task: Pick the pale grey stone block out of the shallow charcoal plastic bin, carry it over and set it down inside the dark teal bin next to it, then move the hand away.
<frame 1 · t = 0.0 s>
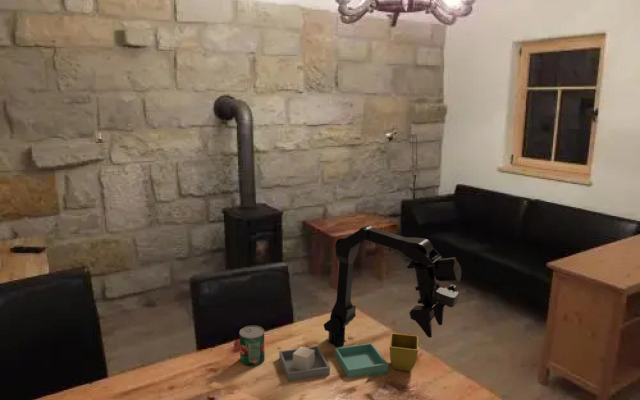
hand: (435, 330, 142), 15 cm above the table, tool pointing down, fingers open, 9 cm apart
teal bin: (360, 365, 151), on the table
flower pot: (402, 367, 151), on the table
charcoal bin: (303, 369, 149), on the table
canned tomato: (252, 363, 152), on the table
stone block: (303, 366, 148), point 1 cm above the table, touching charcoal bin
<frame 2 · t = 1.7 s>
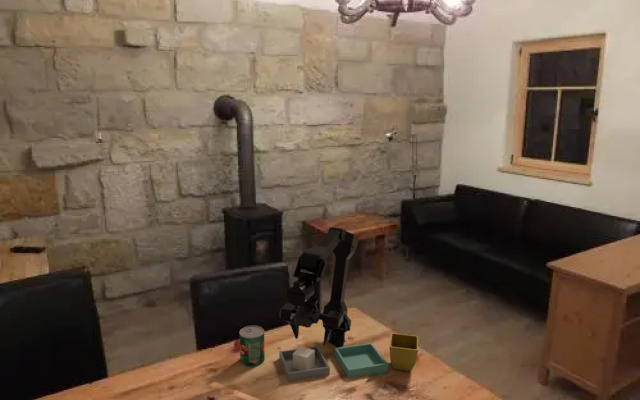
hand: (310, 341, 143), 11 cm above the table, tool pointing down, fingers open, 9 cm apart
nothing on the table moved.
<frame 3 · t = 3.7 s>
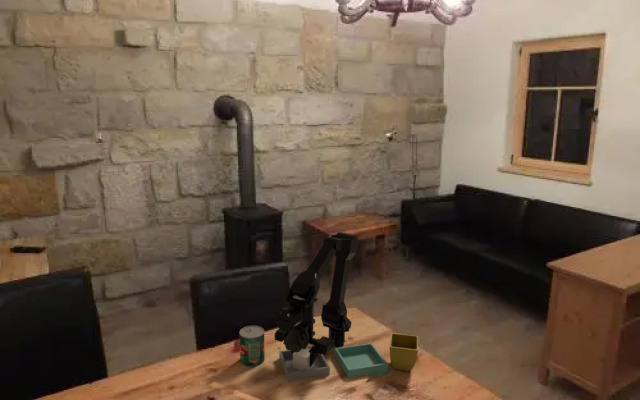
hand: (303, 363, 148), 2 cm above the table, tool pointing down, fingers closed on stone block, 5 cm apart
stone block: (303, 366, 148), point 1 cm above the table, touching charcoal bin, gripper
everything else where it was.
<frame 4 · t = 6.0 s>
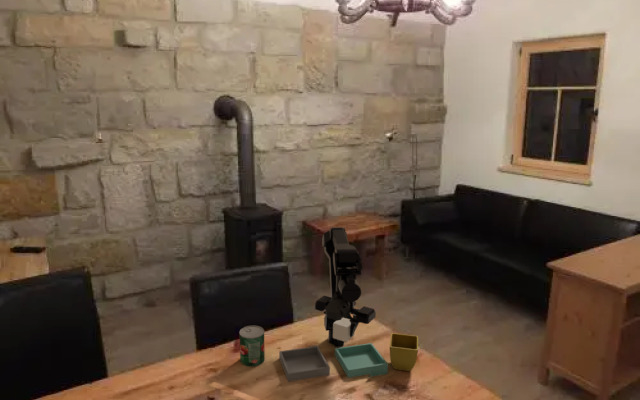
hand: (343, 334, 148), 11 cm above the table, tool pointing down, fingers closed on stone block, 5 cm apart
stone block: (343, 336, 148), point 11 cm above the table, touching gripper
everything else where it was.
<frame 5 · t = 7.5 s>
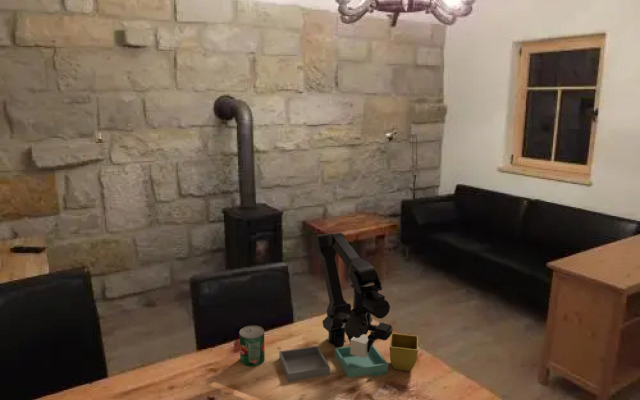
hand: (360, 350, 150), 5 cm above the table, tool pointing down, fingers closed on stone block, 5 cm apart
stone block: (360, 352, 150), point 5 cm above the table, touching gripper
everything else where it was.
when the fingers open (3 cm above the table, at t = 8.7 s): stone block drops 1 cm, resting on teal bin.
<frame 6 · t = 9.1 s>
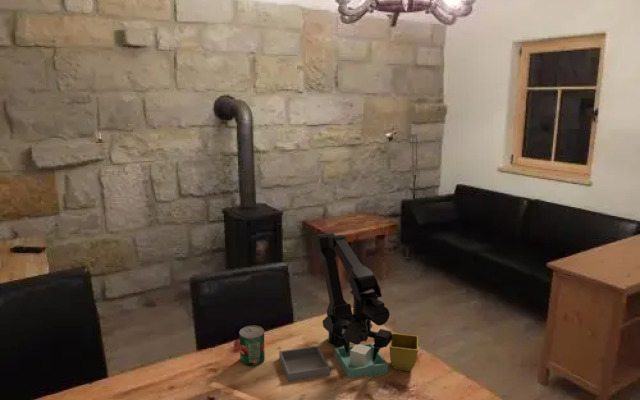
hand: (360, 356, 150), 3 cm above the table, tool pointing down, fingers open, 9 cm apart
stone block: (360, 362, 151), point 1 cm above the table, touching teal bin
everything else where it was.
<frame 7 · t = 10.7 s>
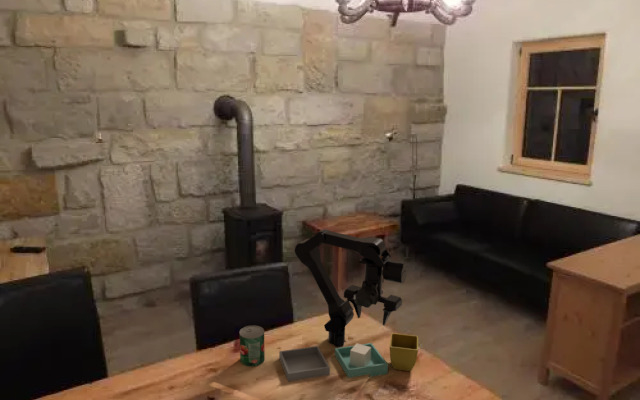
hand: (371, 321, 156), 12 cm above the table, tool pointing down, fingers open, 9 cm apart
nothing on the table moved.
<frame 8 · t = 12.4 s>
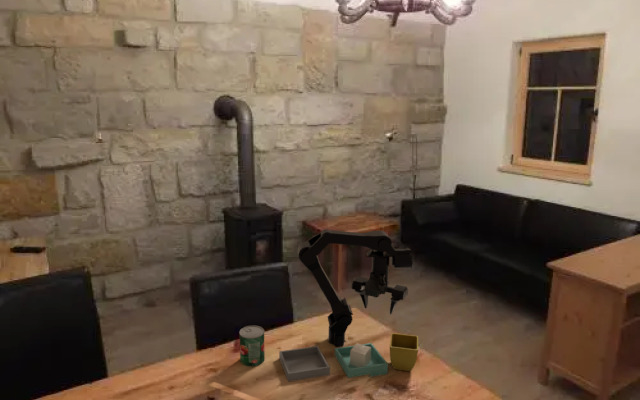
hand: (378, 310, 163), 12 cm above the table, tool pointing down, fingers open, 9 cm apart
nothing on the table moved.
at the end: stone block inside the target area on the teal bin (0.1 cm from its centre), point 1.0 cm above the teal bin's base; the gripper is holding nothing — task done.
